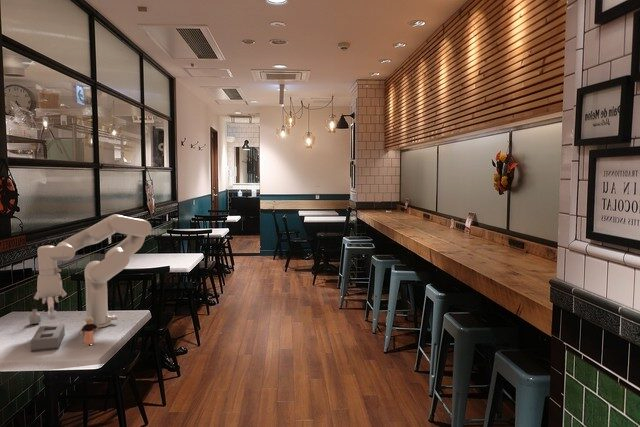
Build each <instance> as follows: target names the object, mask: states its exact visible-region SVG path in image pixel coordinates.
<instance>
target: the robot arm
mask: <svg viewBox="0 0 640 427" xmlns="http://www.w3.org/2000/svg"><path fill="white" fill-rule="evenodd" d="M151 232H152V224H151V223H150V222H149V221H148V220H146V219H142V218H134V217H129V216H124V215H121V214H111V215H109V216H108V217H106V218H103V219H102V220H101V221H98V222H97V223H95V224H93V225H92V226H90V227H88V228H85V229H84V230H81V231H80V232H79V231H78V232H77V233H75V234H73V235H71V236H70V237H67V238H66V239H63V240H62V241H61V242H59V243H58V244H56V246H55V245H49V244H48V245H41V246H38V248H37V261H38V273H39V274H38V275H37V283H36V284H37V286H36V290H37V291H36V292H35V296H34V295H33V297H34V300H35V301H36V300H37V301H39V302H40V303H42V305H43V311H44V312H45V313H47V301H46V297H49V296H55V311H56V312H58V310H59V309H60V301H61V300H62V299H63V298H65V297H66V296H67V292H66V291H65V290H64V287H63V280H62V277H61V273H60V272H62V268H59V267H58V261H69V260H72V259H73V258H74V257H75V255H76V252H77V251H78V250H80V249H83V248H85V247H88V246H91V245H95V244H99V243H101V242H102V241H104V240H106V239H107V238H109V237H110V236H113V235H114V234H116V233H118V234H121V235H127V236H126V237H125V238H124V239H123V240H122V241H121V242H119V243H118V244H116V245H115V246H114V247H112V248H110V249H109V250H107V252H106V253H105V255H104V259H102V260H93V261H89V262H88V263H87V264H86V266H85V268H84V280H85V281H84V282H85V302H86V303H85V304H86V306H85V308H86V309H85V310H86V317H88V316H91V317H93V321H92V323H91V324H95V325H96V326H97V328H98V329H100V328H105V327H107V326H110V325H111V324H112V321H118V317H119V316H118V315H110V313H109V311H108V310H109V307H108V281H110V280H111V279H112V278H113V277H115V276H116V275H118V274H119V273H120V272H122V271H123V270H124V269H125V268H126V267H127V266H128V265H129V263H130V257H132V256H133V255H134V254H135V253H137V252H138V251H139V250H140V249H141V248H142V247H143V244H144V243H145V239H146V237H148V236H149V235H150V234H151ZM86 324H87V323H86V322H85V321H84V323H83V324H82V325H83V326H82V327H84V326H85V325H86Z"/></svg>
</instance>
